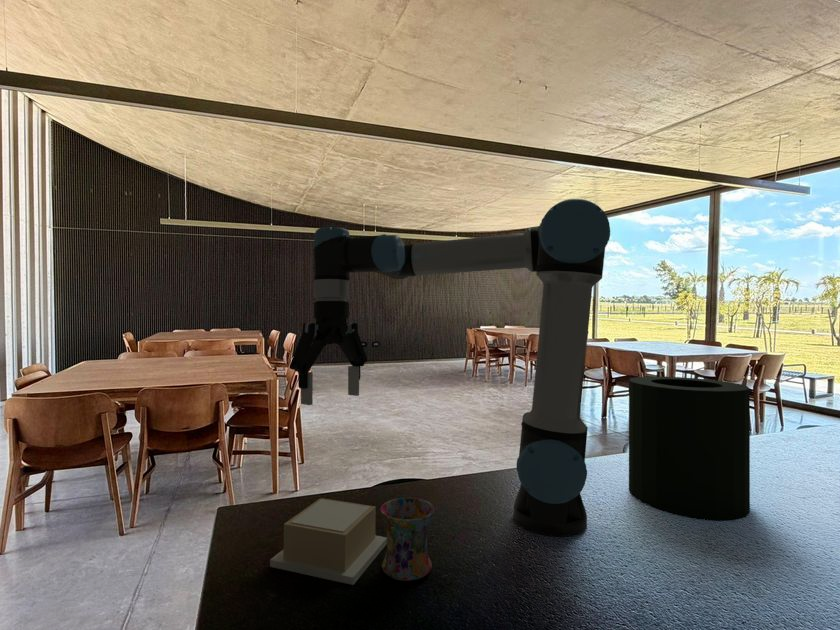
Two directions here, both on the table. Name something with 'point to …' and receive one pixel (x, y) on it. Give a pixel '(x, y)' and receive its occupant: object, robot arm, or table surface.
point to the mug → (407, 538)
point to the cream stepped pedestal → (330, 541)
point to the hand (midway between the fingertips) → (331, 399)
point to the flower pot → (690, 446)
